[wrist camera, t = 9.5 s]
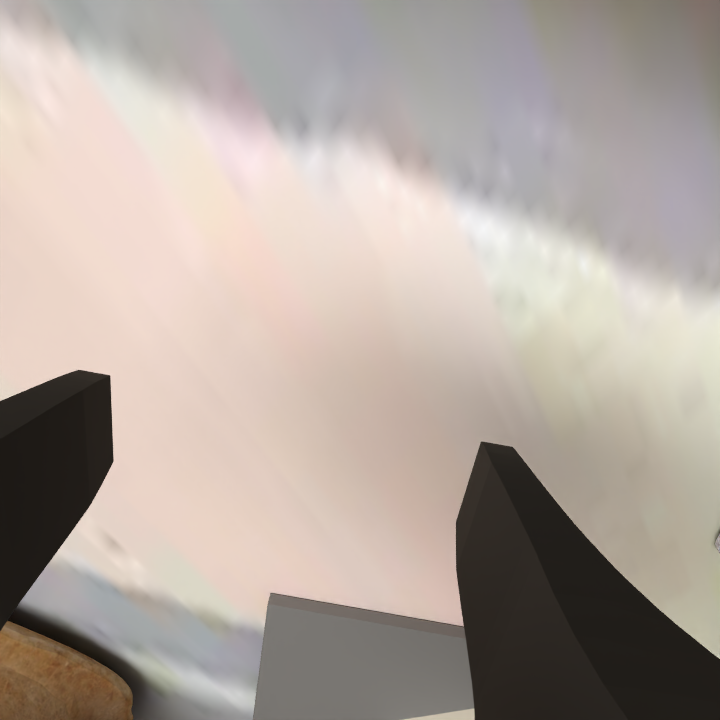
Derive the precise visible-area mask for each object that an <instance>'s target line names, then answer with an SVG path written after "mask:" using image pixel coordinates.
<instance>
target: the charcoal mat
mask: <svg viewBox="0 0 720 720" xmlns="http://www.w3.org/2000/svg"><path fill="white" fill-rule="evenodd" d="M467 709H474V700H473V690H472V680H471V673H470V666H469V659H468V651H467V644H466V637H465V630H464V627H460V626H454V625H449V624H443V623H437V622H432V621H426V620H420V619H415V618H409V617H403V616H398V615H392V614H386V613H381V612H375V611H369V610H363V609H358V608H352V607H346V606H341V605H335V604H329V603H324V602H318V601H312V600H307V599H301V598H295V597H289V596H284V595H278V594H272V593H271V594H270V597H269V601H268V606H267V614H266V622H265V630H264V637H263V645H262V653H261V661H260V669H259V676H258V684H257V692H256V700H255V707H254V715H253V720H404V719H410V718H416V717H423V716H429V715H435V714H442V713H448V712H454V711H461V710H467Z"/></svg>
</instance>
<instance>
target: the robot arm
mask: <svg viewBox="0 0 720 720" xmlns="http://www.w3.org/2000/svg"><path fill="white" fill-rule="evenodd" d="M112 463H113V437H112V410H111V384H110V375H104V374H99V373H93V372H88V371H82V370H77V371H74V372H71V373H68V374H65V375H63V376H60V377H57V378H55V379H52V380H50V381H47V382H45V383H43V384H40V385H38V386H35V387H33V388H31V389H28V390H26V391H24V392H21V393H19V394H16V395H14V396H12V397H9V398H7V399H4V400H2V401H0V631H1V630H2V628H3V626H4V625H5V623H6V622H7V620H8V619H9V617H10V616H11V614H12V613H13V611H14V610H15V608H16V607H17V606H18V604H19V603H20V601H21V600H22V598H23V597H24V596H25V594H26V593H27V592H28V590H29V589H30V588H31V586H32V585H33V583H34V582H35V581H36V579H37V578H38V577H39V575H40V574H41V573H42V571H43V570H44V568H45V567H46V566H47V564H48V563H49V562H50V560H51V559H52V558H53V556H54V555H55V553H56V552H57V551H58V549H59V548H60V547H61V545H62V544H63V543H64V541H65V540H66V538H67V537H68V536H69V534H70V533H71V531H72V530H73V529H74V527H75V526H76V525H77V523H78V522H79V520H80V519H81V518H82V516H83V515H84V513H85V512H86V510H87V509H88V508H89V506H90V505H91V503H92V501H93V499H94V497H95V496H96V494H97V492H98V490H99V488H100V487H101V485H102V483H103V481H104V479H105V477H106V475H107V473H108V471H109V469H110V467H111V465H112ZM715 546H716V548H717V550H718V551H719V553H720V534H719V536H718V538H717V539H716V542H715ZM456 570H457V578H458V586H459V594H460V601H461V609H462V616H463V623H464V630H465V637H466V644H467V651H468V659H469V666H470V673H471V680H472V690H473V700H474V712H475V720H720V659H719V658H717V657H716V656H715V655H713V654H712V653H711V652H710V651H708V650H707V649H706V648H705V647H703V646H702V645H701V644H700V643H699V642H697V641H696V640H695V639H694V638H692V637H691V636H690V635H689V634H687V633H686V632H685V631H684V630H682V629H681V628H680V627H679V626H678V625H676V624H675V623H674V622H673V621H672V620H671V619H669V618H668V617H667V616H666V615H665V614H664V613H662V612H661V611H660V610H659V609H658V608H657V607H656V606H655V605H653V604H652V603H651V602H650V601H649V600H648V599H647V598H646V597H645V596H644V595H643V594H642V593H641V592H639V591H638V590H637V589H636V588H635V587H634V586H633V585H632V584H631V583H630V582H629V581H628V580H627V579H626V578H625V577H624V576H623V575H622V574H621V573H620V572H619V571H618V570H617V569H616V568H615V567H614V566H613V565H612V564H611V563H610V562H609V561H608V560H607V559H606V558H605V557H604V556H603V555H602V554H601V553H600V552H599V551H598V549H597V548H596V547H595V546H594V545H593V544H592V543H591V542H590V541H589V540H588V539H587V538H586V536H585V535H584V534H583V533H582V532H581V531H580V530H579V528H578V527H577V526H576V525H575V524H574V523H573V522H572V520H571V519H570V518H569V517H568V516H567V514H566V513H565V512H564V511H563V510H562V508H561V507H560V506H559V505H558V504H557V502H556V501H555V500H554V499H553V497H552V496H551V495H550V494H549V492H548V491H547V490H546V489H545V487H544V486H543V485H542V483H541V482H540V481H539V480H538V478H537V477H536V476H535V475H534V473H533V472H532V471H531V469H530V468H529V467H528V466H527V464H526V463H525V462H524V460H523V459H522V458H521V457H520V455H519V454H518V453H517V452H516V451H515V449H514V448H513V447H509V446H504V445H498V444H493V443H487V442H481V444H480V447H479V450H478V453H477V456H476V460H475V463H474V466H473V469H472V473H471V476H470V479H469V482H468V485H467V489H466V492H465V495H464V498H463V502H462V505H461V508H460V511H459V514H458V518H457V521H456Z"/></svg>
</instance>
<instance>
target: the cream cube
mask: <svg viewBox="0 0 720 720" xmlns="http://www.w3.org/2000/svg"><path fill="white" fill-rule="evenodd" d="M404 720H475V712H474V709H467V710H461V711H454V712H448V713H442V714H435V715H429V716H423V717H416V718H410V719H404Z"/></svg>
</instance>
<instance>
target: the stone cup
mask: <svg viewBox="0 0 720 720" xmlns="http://www.w3.org/2000/svg"><path fill="white" fill-rule="evenodd" d="M132 705H133V695H132V692H131V689H130V687H129V686H128V685H127V684H126V682H125V681H124V680H123V679H122V678H121V677H120V676H118V675H117V674H116V673H115V672H114V671H112V670H110V669H109V668H107V667H106V666H104V665H102V664H101V663H99V662H97V661H95V660H94V659H92V658H90V657H88V656H86V655H84V654H82V653H80V652H78V651H76V650H74V649H72V648H70V647H68V646H66V645H64V644H61V643H59V642H57V641H55V640H52V639H50V638H48V637H45V636H43V635H41V634H38V633H36V632H34V631H31V630H29V629H27V628H24V627H22V626H20V625H17V624H15V623H12V622H10V621H7V622H6V623H5V625H4V626H3V628H2V630H1V631H0V720H133V714H132V711H131V708H132Z"/></svg>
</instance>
